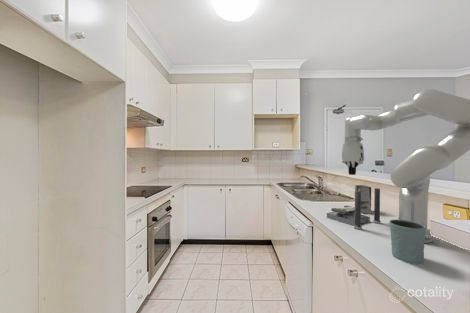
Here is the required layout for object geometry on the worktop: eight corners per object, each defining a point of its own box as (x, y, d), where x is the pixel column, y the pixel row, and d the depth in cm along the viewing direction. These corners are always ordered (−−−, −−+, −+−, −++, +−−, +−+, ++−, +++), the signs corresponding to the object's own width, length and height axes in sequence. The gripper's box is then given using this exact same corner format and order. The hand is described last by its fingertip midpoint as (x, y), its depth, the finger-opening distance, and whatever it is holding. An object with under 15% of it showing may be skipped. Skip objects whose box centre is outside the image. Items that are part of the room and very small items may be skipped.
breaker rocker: (356, 209, 115) (355, 206, 115) (351, 210, 113) (350, 207, 113) (341, 210, 122) (340, 207, 123) (336, 211, 120) (336, 208, 121)
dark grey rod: (363, 229, 102) (363, 191, 102) (359, 230, 101) (359, 192, 100) (356, 227, 105) (356, 190, 105) (352, 228, 104) (352, 191, 103)
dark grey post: (381, 223, 111) (382, 188, 110) (378, 224, 109) (378, 189, 109) (375, 221, 113) (375, 188, 113) (372, 222, 112) (372, 188, 112)
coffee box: (371, 213, 128) (372, 187, 127) (360, 213, 128) (360, 187, 128) (364, 209, 137) (364, 185, 136) (354, 209, 138) (354, 184, 137)
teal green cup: (414, 267, 68) (415, 230, 68) (382, 253, 77) (382, 221, 77) (432, 260, 72) (432, 226, 72) (399, 248, 82) (399, 217, 81)
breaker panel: (370, 221, 114) (370, 210, 114) (353, 226, 106) (353, 214, 106) (342, 213, 128) (342, 204, 127) (326, 217, 120) (326, 207, 120)
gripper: (371, 140, 109) (370, 175, 110) (343, 141, 123) (343, 173, 123) (362, 139, 106) (362, 176, 106) (335, 141, 119) (335, 173, 119)
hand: (352, 174), depth 114 cm, fingers closed
